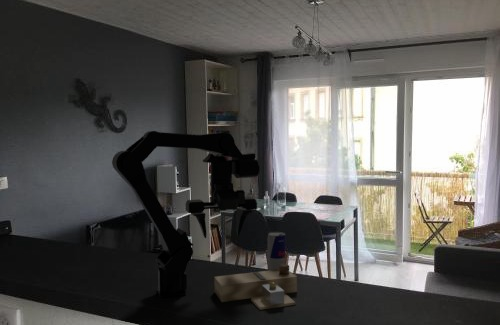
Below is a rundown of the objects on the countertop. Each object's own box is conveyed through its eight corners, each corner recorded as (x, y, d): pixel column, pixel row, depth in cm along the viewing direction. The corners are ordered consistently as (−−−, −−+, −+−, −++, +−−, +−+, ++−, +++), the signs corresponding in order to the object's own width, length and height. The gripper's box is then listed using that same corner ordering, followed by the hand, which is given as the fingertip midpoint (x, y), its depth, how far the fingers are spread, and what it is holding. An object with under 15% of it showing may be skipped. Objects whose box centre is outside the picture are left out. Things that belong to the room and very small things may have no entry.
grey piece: (270, 305, 95) (270, 287, 95) (261, 296, 101) (261, 280, 100) (284, 303, 97) (284, 285, 96) (275, 295, 102) (275, 278, 101)
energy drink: (284, 278, 116) (284, 236, 116) (266, 277, 117) (266, 235, 117) (287, 272, 121) (287, 232, 121) (269, 271, 123) (269, 231, 122)
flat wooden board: (259, 309, 94) (259, 307, 94) (251, 300, 100) (251, 298, 100) (295, 304, 97) (295, 302, 97) (285, 295, 103) (285, 293, 103)
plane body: (221, 302, 99) (221, 277, 99) (214, 292, 106) (214, 269, 105) (296, 291, 106) (296, 268, 105) (285, 283, 112) (285, 261, 112)
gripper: (192, 183, 100) (193, 246, 101) (264, 180, 106) (264, 240, 107) (184, 179, 110) (185, 236, 111) (250, 177, 117) (250, 231, 117)
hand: (221, 236), depth 111 cm, fingers open, 9 cm apart
